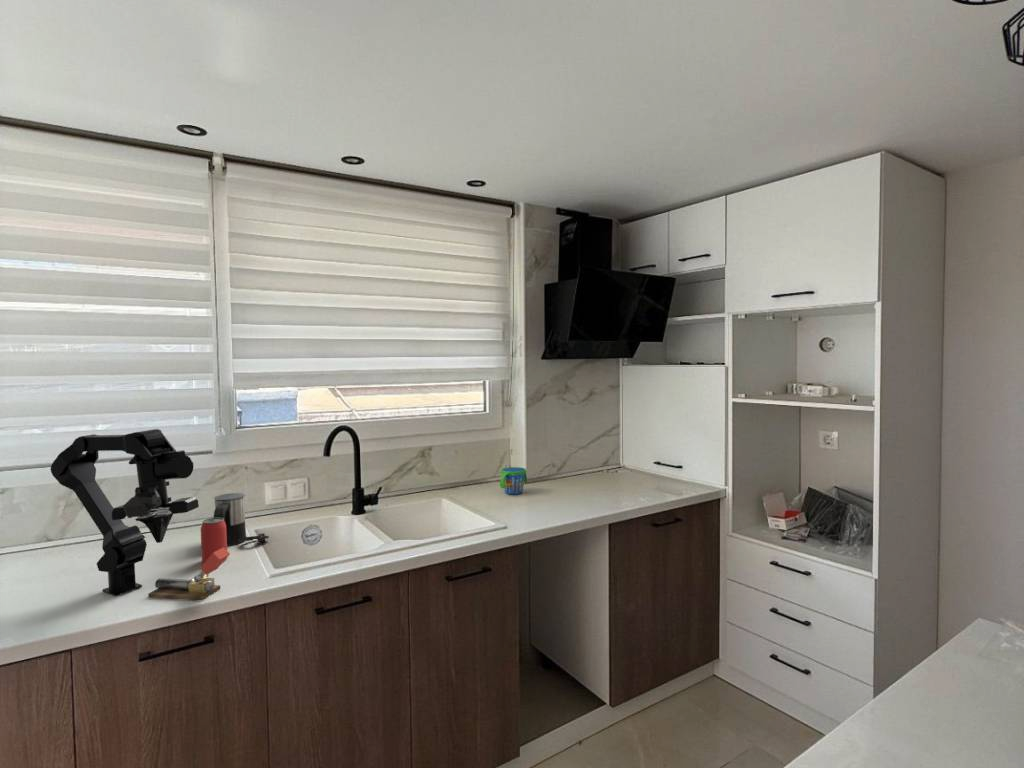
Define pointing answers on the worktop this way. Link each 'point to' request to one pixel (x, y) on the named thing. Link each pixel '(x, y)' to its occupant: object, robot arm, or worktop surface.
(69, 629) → the worktop surface
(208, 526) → the beer can
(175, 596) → the walnut board
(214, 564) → the valve lever
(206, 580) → the valve body
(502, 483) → the snack cup
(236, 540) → the milk frother
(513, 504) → the worktop surface
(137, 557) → the robot arm
